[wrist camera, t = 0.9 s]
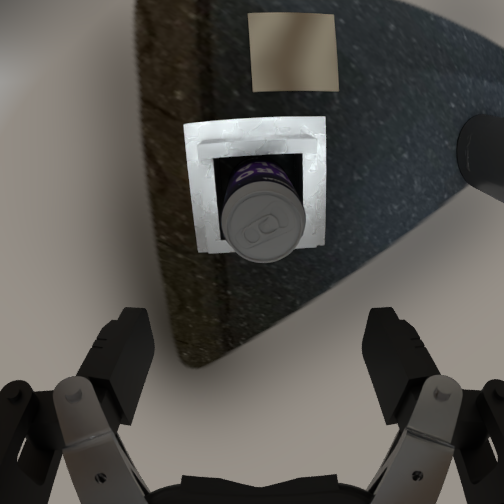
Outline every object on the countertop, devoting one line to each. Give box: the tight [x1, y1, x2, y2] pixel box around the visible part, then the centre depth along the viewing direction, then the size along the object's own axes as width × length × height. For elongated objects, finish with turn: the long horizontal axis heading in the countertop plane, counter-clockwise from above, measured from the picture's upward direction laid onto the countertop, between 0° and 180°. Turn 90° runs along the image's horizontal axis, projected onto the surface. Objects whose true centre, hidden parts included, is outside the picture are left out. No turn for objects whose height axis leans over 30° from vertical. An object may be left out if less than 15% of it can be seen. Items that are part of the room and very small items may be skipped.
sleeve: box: [184, 116, 326, 254], centre depth 29 cm, size 13×13×5 cm
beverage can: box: [220, 157, 306, 263], centre depth 26 cm, size 6×6×12 cm
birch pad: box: [248, 13, 339, 92], centre depth 25 cm, size 8×8×1 cm
